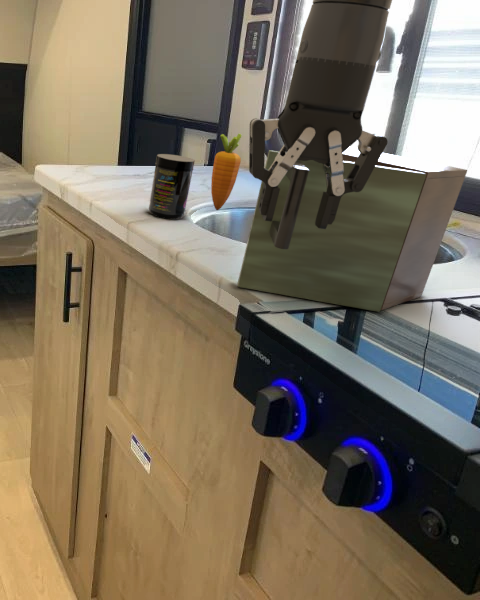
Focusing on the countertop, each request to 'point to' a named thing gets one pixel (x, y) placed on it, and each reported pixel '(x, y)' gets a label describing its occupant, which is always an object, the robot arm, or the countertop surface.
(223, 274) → the countertop surface
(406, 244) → the cupboard
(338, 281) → the cupboard door
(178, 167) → the supplement container
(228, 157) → the carrot
